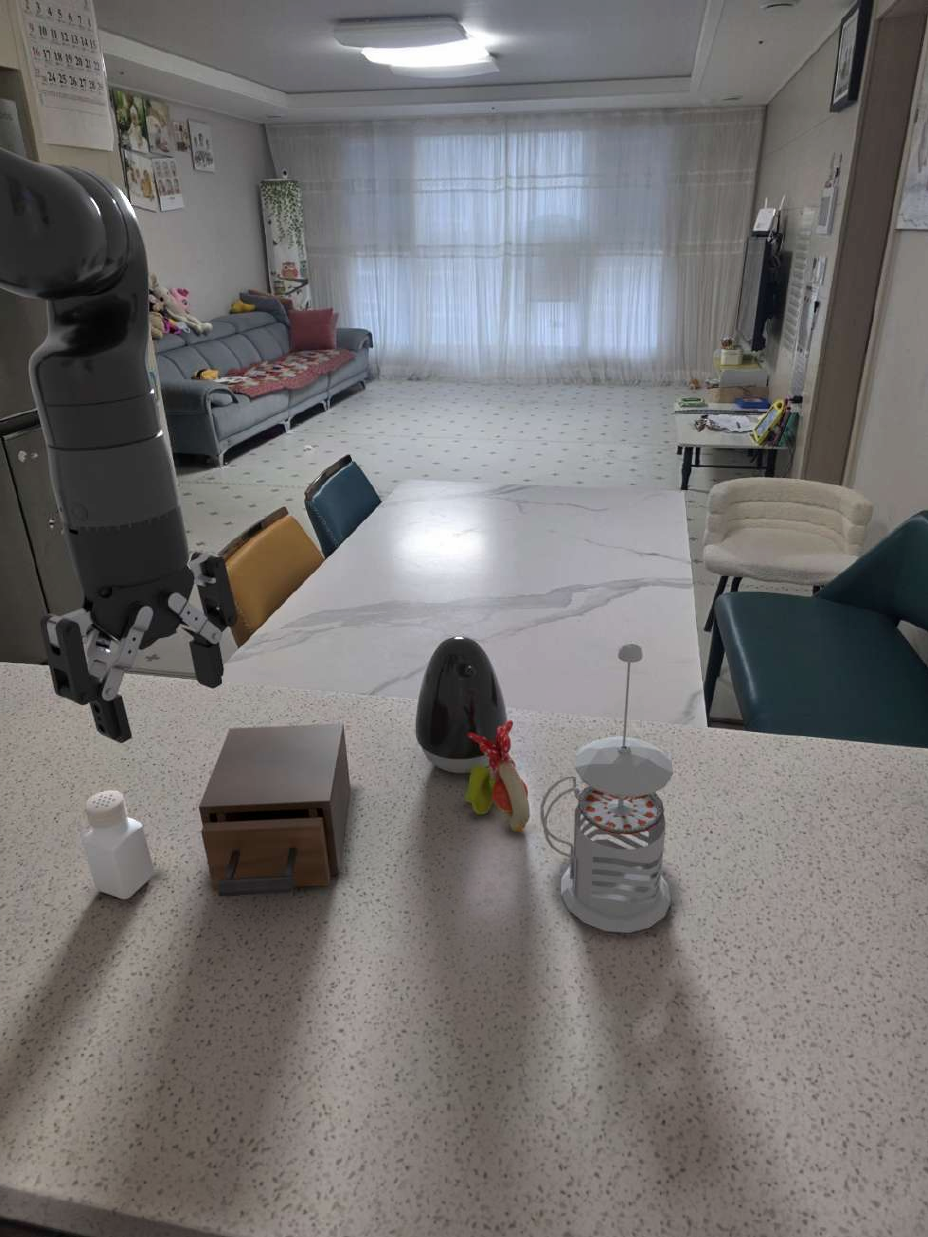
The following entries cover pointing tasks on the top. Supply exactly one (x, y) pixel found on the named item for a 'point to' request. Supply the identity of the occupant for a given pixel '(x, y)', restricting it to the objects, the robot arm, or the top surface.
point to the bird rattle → (498, 780)
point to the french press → (617, 830)
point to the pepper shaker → (116, 846)
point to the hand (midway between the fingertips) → (166, 710)
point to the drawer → (266, 851)
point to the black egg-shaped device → (458, 705)
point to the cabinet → (284, 777)
